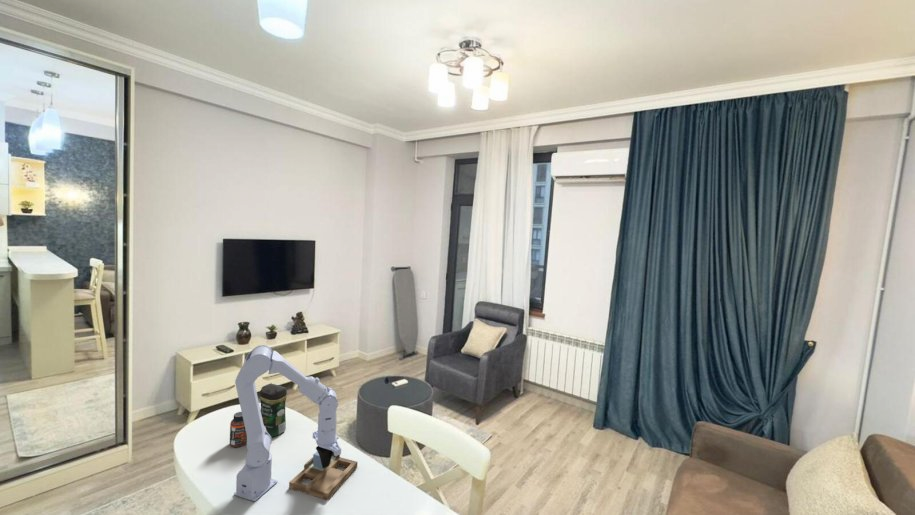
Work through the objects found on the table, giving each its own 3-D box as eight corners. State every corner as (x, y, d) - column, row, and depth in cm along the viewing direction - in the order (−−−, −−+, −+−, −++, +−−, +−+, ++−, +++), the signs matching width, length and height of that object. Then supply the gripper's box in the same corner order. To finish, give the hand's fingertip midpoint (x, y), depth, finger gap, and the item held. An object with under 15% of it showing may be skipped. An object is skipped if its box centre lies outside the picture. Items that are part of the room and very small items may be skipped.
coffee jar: (254, 432, 149) (255, 386, 147) (271, 423, 156) (273, 379, 155) (272, 439, 145) (274, 392, 144) (289, 430, 152) (290, 385, 151)
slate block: (322, 468, 127) (322, 457, 127) (313, 465, 128) (313, 454, 128) (331, 462, 131) (331, 450, 130) (321, 459, 132) (321, 448, 132)
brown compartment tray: (327, 499, 116) (328, 488, 116) (288, 488, 120) (289, 477, 120) (357, 467, 132) (357, 457, 132) (322, 457, 136) (322, 448, 136)
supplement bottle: (233, 450, 137) (234, 419, 136) (226, 443, 141) (227, 414, 140) (251, 443, 142) (251, 414, 141) (243, 437, 146) (244, 408, 145)
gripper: (350, 431, 124) (348, 471, 125) (326, 415, 133) (325, 452, 134) (330, 439, 119) (328, 481, 120) (307, 422, 128) (306, 460, 129)
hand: (325, 466), depth 127 cm, fingers closed
